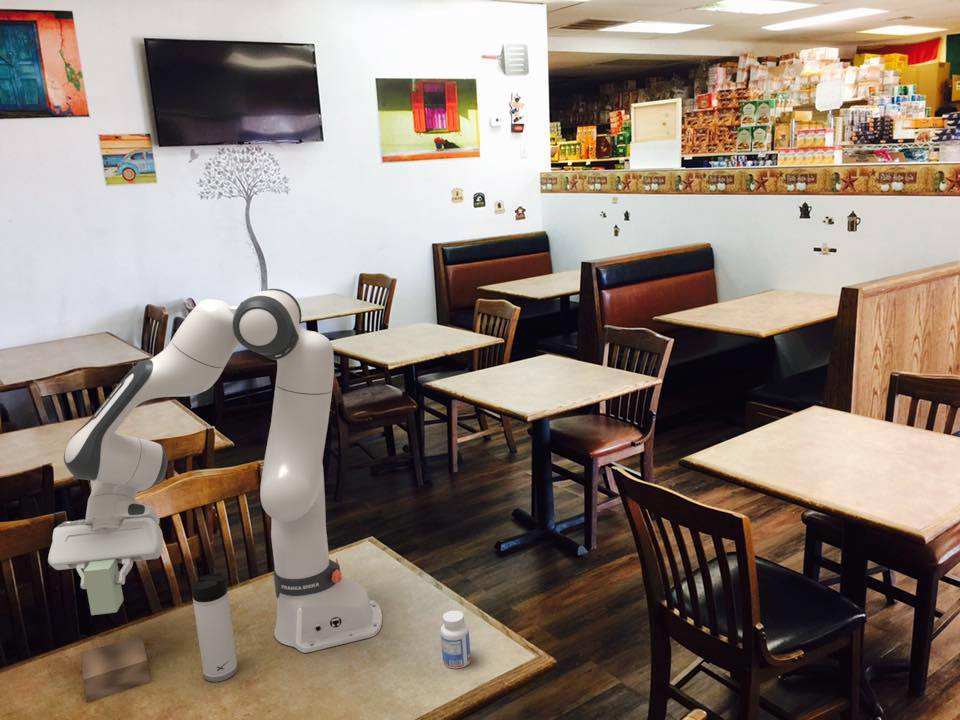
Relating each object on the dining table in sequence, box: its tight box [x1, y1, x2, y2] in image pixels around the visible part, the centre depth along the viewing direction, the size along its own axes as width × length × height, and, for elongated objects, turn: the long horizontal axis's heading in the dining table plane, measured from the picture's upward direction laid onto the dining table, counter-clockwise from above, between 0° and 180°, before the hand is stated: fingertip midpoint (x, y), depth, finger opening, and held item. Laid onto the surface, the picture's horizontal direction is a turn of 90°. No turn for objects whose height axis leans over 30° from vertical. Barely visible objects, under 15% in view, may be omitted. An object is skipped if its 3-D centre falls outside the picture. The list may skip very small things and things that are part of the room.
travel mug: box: [190, 572, 238, 683], centre depth 148 cm, size 6×7×20 cm
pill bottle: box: [440, 609, 471, 670], centre depth 149 cm, size 6×5×10 cm
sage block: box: [84, 558, 124, 616], centre depth 147 cm, size 4×4×9 cm
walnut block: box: [80, 635, 152, 703], centre depth 150 cm, size 11×10×5 cm
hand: (102, 585), depth 146 cm, fingers closed on sage block, 4 cm apart
